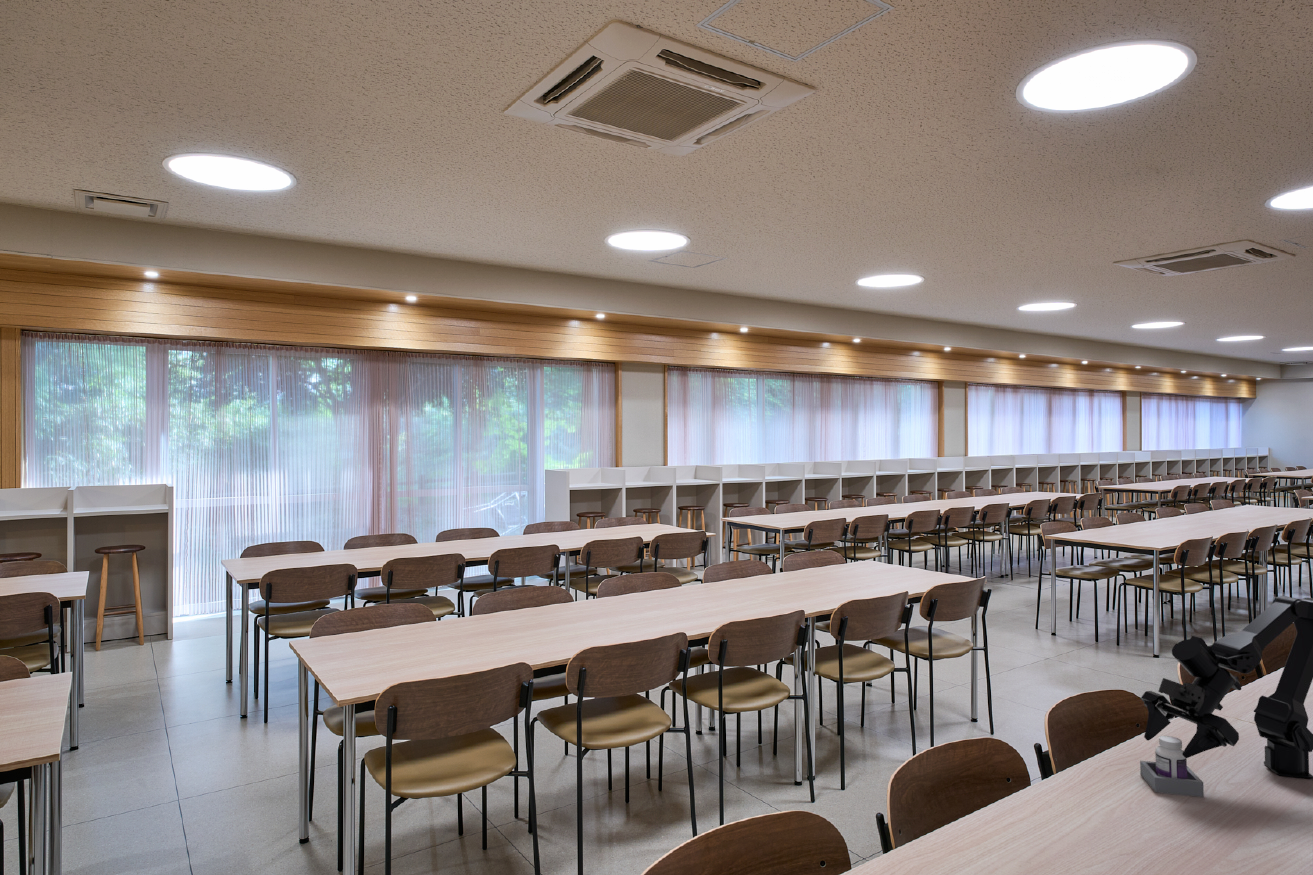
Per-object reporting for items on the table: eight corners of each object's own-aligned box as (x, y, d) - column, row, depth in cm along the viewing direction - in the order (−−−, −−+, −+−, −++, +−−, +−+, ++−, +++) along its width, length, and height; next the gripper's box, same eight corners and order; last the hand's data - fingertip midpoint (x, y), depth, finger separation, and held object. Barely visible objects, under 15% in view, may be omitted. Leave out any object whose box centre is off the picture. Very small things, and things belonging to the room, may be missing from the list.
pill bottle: (1183, 781, 157) (1181, 735, 157) (1191, 792, 151) (1189, 745, 152) (1153, 778, 158) (1152, 732, 159) (1159, 788, 153) (1158, 742, 154)
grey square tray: (1186, 778, 158) (1185, 764, 158) (1203, 797, 150) (1203, 782, 150) (1140, 774, 160) (1140, 760, 160) (1155, 792, 152) (1154, 777, 152)
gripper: (1146, 653, 165) (1105, 707, 163) (1226, 679, 147) (1180, 739, 145) (1177, 686, 167) (1136, 739, 164) (1259, 715, 148) (1215, 776, 146)
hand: (1164, 747), depth 155 cm, fingers open, 9 cm apart
